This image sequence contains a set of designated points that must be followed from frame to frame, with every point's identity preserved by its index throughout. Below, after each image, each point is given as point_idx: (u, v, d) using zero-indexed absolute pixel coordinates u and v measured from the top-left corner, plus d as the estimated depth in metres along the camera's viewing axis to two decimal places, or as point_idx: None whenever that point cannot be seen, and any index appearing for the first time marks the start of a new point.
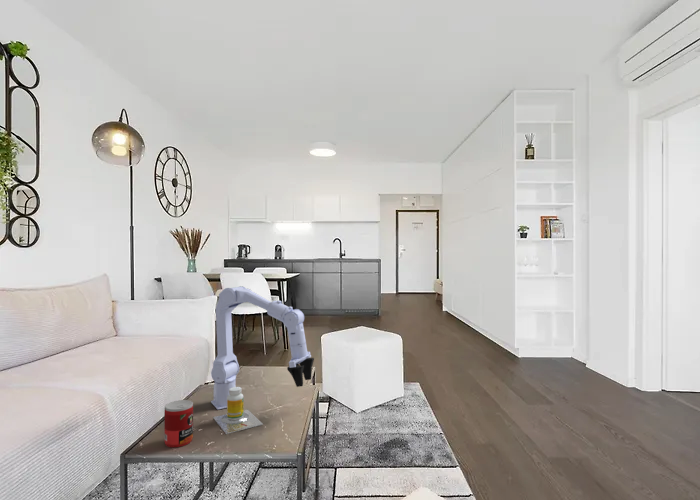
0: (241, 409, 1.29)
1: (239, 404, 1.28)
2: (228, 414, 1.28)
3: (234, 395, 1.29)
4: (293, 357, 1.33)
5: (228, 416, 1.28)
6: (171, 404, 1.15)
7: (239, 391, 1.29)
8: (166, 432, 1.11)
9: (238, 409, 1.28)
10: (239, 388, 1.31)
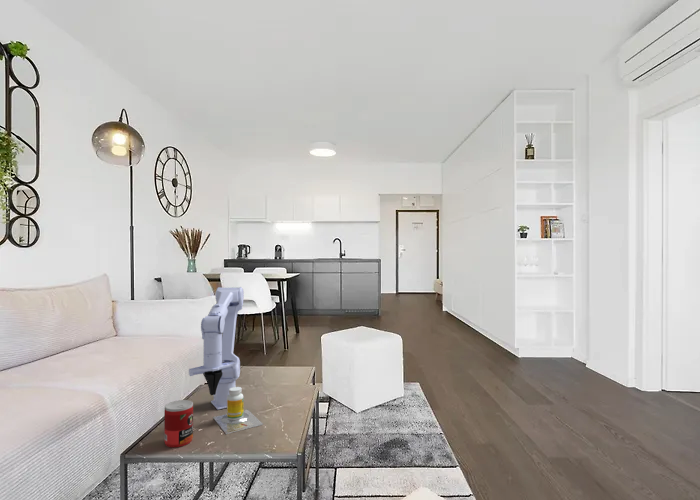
0: (241, 409, 1.29)
1: (239, 404, 1.28)
2: (228, 414, 1.28)
3: (234, 395, 1.29)
4: None
5: (228, 416, 1.28)
6: (171, 404, 1.15)
7: (239, 391, 1.29)
8: (166, 432, 1.11)
9: (238, 409, 1.28)
10: (239, 388, 1.31)
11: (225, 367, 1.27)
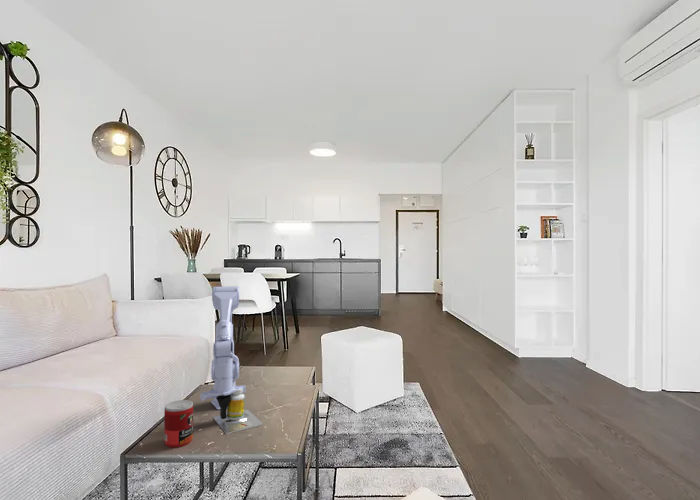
0: (241, 409, 1.29)
1: (239, 404, 1.28)
2: (228, 413, 1.28)
3: (235, 394, 1.29)
4: None
5: (228, 415, 1.28)
6: (171, 404, 1.15)
7: (240, 391, 1.29)
8: (166, 432, 1.11)
9: (239, 408, 1.28)
10: None
11: None
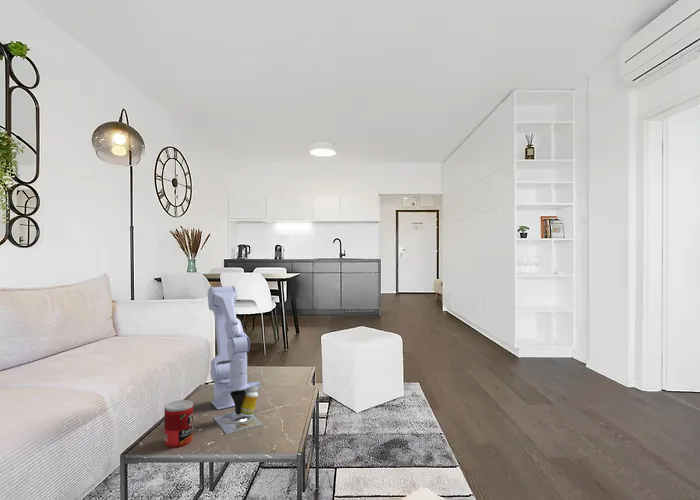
0: (254, 407, 1.31)
1: (253, 401, 1.31)
2: None
3: (251, 391, 1.31)
4: None
5: None
6: (171, 404, 1.15)
7: (256, 388, 1.32)
8: (166, 432, 1.11)
9: (252, 405, 1.30)
10: (256, 386, 1.34)
11: (250, 386, 1.31)
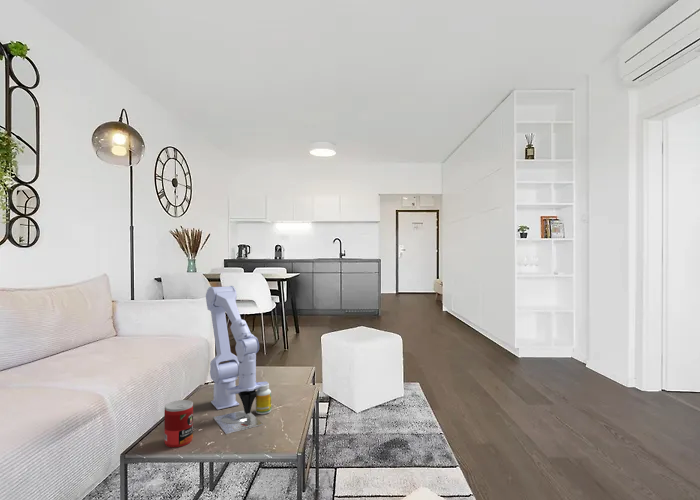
0: (269, 403, 1.35)
1: (267, 399, 1.34)
2: (257, 408, 1.34)
3: (262, 390, 1.34)
4: None
5: (257, 410, 1.34)
6: (171, 404, 1.15)
7: (267, 386, 1.35)
8: (166, 432, 1.11)
9: (266, 403, 1.34)
10: None
11: None
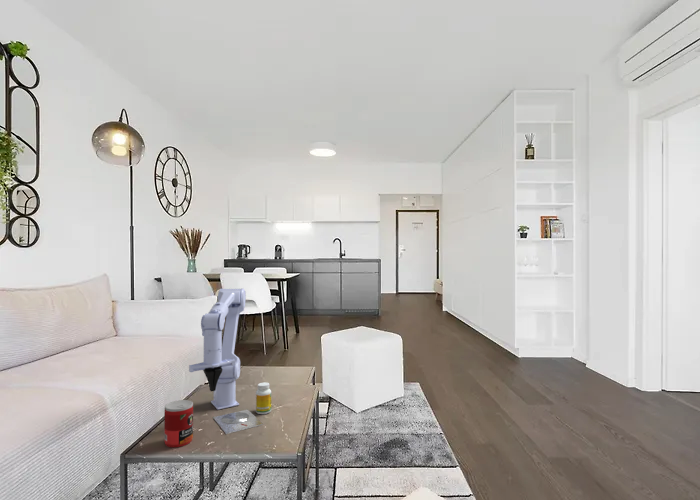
0: (269, 404, 1.35)
1: (267, 399, 1.34)
2: (257, 408, 1.34)
3: (263, 390, 1.34)
4: None
5: (257, 410, 1.34)
6: (171, 404, 1.15)
7: (267, 386, 1.35)
8: (166, 432, 1.11)
9: (266, 403, 1.34)
10: (267, 383, 1.36)
11: (225, 364, 1.29)
